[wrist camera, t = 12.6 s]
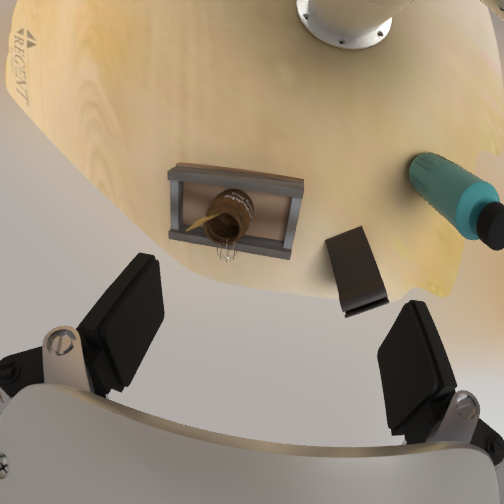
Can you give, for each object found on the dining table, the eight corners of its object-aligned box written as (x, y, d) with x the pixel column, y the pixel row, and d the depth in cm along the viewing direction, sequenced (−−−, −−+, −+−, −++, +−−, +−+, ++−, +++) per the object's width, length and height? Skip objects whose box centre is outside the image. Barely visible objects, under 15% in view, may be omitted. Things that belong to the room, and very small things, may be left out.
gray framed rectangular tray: (179, 162, 39) (167, 169, 35) (303, 179, 37) (304, 188, 34) (178, 228, 44) (168, 240, 41) (290, 247, 43) (289, 261, 40)
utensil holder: (234, 233, 42) (212, 280, 32) (204, 202, 40) (172, 242, 30) (263, 210, 40) (250, 254, 29) (233, 177, 38) (208, 210, 28)
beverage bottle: (402, 191, 36) (468, 268, 19) (404, 146, 32) (485, 195, 15) (439, 192, 34) (514, 265, 17) (442, 149, 31) (531, 200, 14)
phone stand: (377, 271, 43) (394, 322, 33) (343, 283, 45) (352, 336, 35) (361, 225, 39) (380, 270, 29) (325, 239, 42) (332, 288, 31)
